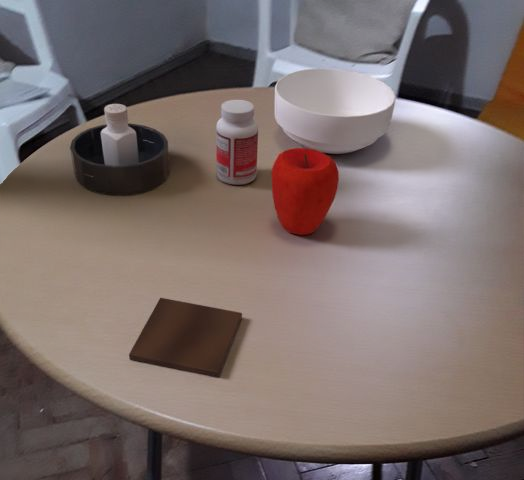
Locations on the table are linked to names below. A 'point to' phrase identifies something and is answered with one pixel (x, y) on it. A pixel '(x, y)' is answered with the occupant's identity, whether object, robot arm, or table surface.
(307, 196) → the apple
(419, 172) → the table surface
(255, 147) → the pill bottle
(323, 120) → the bowl
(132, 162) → the salt shaker
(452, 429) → the table surface
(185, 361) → the coaster
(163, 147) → the pan
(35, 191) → the table surface
